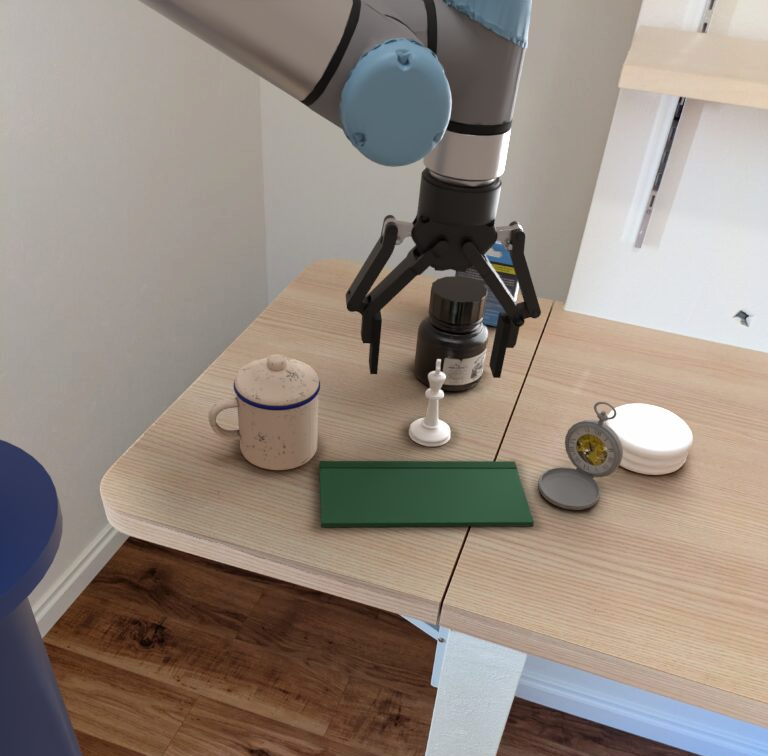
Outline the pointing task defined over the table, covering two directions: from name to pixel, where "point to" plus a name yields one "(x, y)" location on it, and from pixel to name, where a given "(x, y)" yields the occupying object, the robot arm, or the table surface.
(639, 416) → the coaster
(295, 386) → the teacup with lid
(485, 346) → the ink bottle
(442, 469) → the green rectangular panel
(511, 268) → the label tape box
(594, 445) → the pocket watch
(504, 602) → the table surface
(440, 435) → the chess piece
